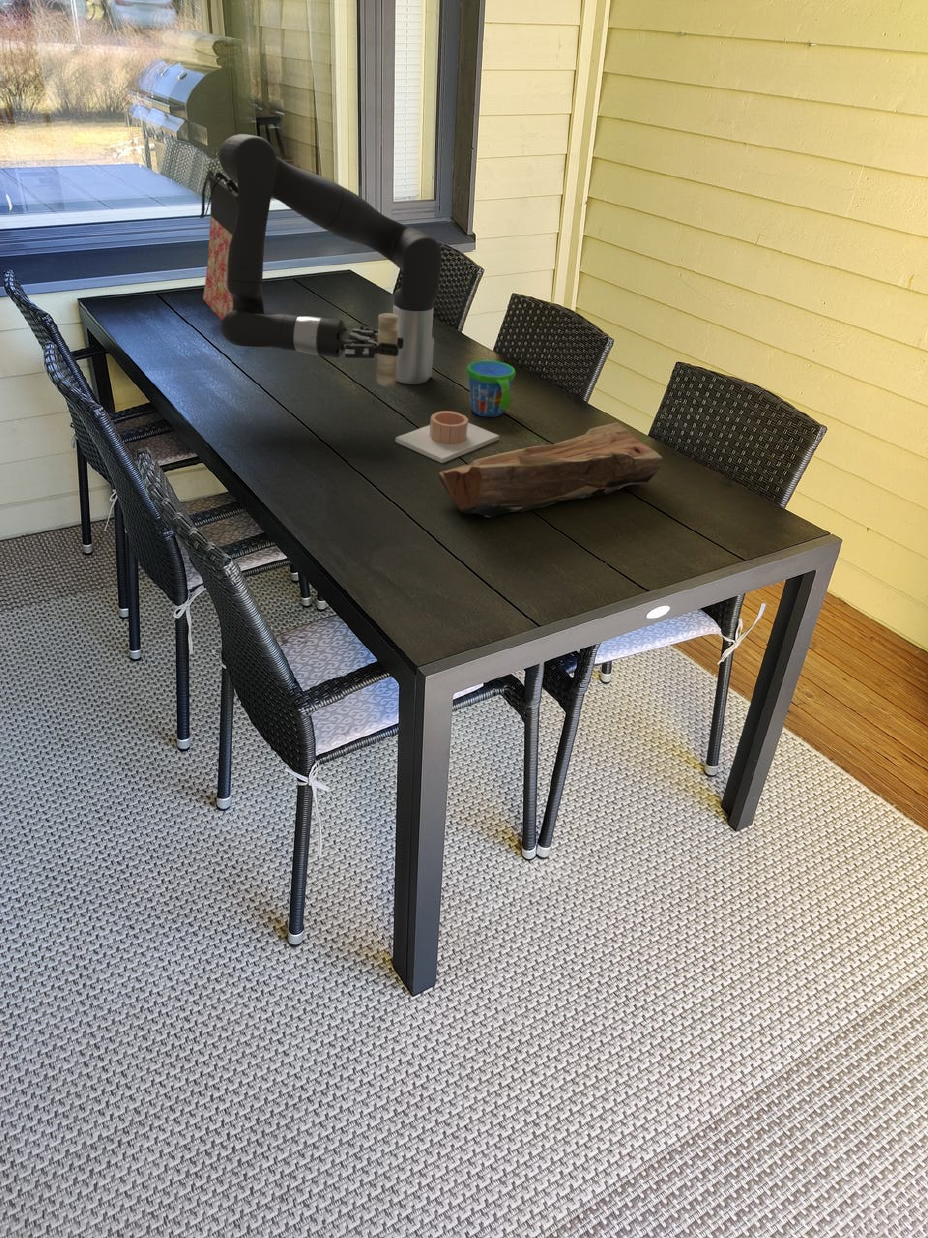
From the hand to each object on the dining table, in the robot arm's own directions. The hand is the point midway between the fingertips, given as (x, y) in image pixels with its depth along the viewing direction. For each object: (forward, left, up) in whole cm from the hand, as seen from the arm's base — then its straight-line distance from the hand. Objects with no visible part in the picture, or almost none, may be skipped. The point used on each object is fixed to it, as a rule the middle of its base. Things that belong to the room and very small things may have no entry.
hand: (400, 346), depth 201 cm
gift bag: (-17, -77, -17) cm, 81 cm away
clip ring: (-2, +13, -16) cm, 21 cm away
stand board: (-2, +13, -17) cm, 21 cm away
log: (+1, +41, -18) cm, 45 cm away
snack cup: (-21, +8, -17) cm, 29 cm away
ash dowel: (+1, -2, -8) cm, 8 cm away
